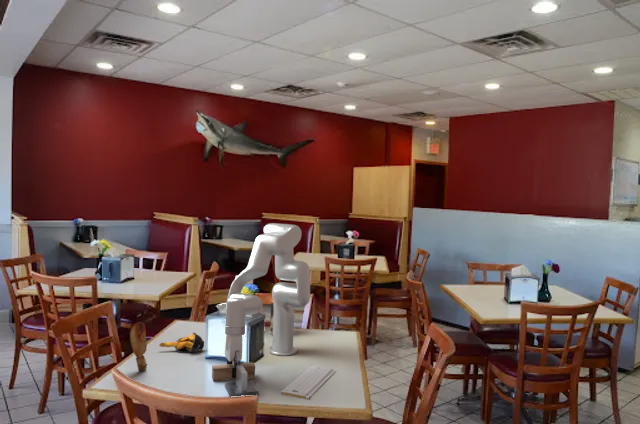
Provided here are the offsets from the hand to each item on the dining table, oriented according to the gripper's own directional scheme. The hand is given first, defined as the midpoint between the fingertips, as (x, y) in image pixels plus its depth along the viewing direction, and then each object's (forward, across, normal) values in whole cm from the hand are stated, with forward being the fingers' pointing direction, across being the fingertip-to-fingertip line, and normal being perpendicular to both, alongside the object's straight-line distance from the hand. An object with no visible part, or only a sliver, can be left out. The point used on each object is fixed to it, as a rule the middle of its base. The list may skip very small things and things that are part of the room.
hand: (233, 373), depth 197 cm
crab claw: (+2, -16, -34) cm, 37 cm away
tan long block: (+2, 0, 0) cm, 2 cm away
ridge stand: (+2, +13, 0) cm, 14 cm away
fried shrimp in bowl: (+2, -37, -15) cm, 40 cm away
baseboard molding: (+2, +12, +28) cm, 31 cm away
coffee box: (+1, -53, +35) cm, 64 cm away
